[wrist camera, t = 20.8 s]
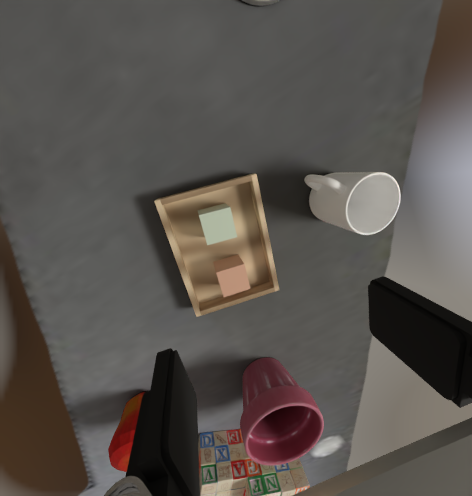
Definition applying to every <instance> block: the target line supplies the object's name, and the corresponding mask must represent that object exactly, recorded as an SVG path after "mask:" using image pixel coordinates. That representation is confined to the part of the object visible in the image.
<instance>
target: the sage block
mask: <svg viewBox="0 0 472 496" xmlns="http://www.w3.org/2000/svg"><path fill="white" fill-rule="evenodd" d="M198 214H199V218H200V221H201V225H202V228H203V232H204V235H205V239H206V242H207V245H211V244H214V243H218V242H221V241H225V240H229V239H232V238H236V237H237V234H236V229H235V225H234V221H233V216H232V212H231V208H230V206H228V205H227V204H226V203H224V204H220V205H216V206H212V207H209V208H205V209H201V210H198Z"/></svg>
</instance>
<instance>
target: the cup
mask: <svg viewBox="0 0 472 496" xmlns="http://www.w3.org/2000/svg"><path fill="white" fill-rule="evenodd" d="M304 181H305V183H306V184H307V185H308V186H309V187H311V188H312V190H311V192H310V197H309V205H310V208H311V211H312V213H313V214H314V215H315V216H316V217H317V218H318V219H320V220H322V221H324V222H327V223H330V224H333V225H336V226H339V227H341V228H344V229H347V230H350V231H353V232H356V233H358V234H362V235H371V234H374V233H377V232H379V231H381V230H382V229H384V228H385V227H386V226H387V225H388V224H389V223H390V222H391V221H392V220H393V218H394V217H395V215H396V213H397V211H398V208H399V204H400V189H399V186H398V183H397V182H396V180H395V179H394V178H393V177H392V176H390V175H389V174H387V173H383V172H341V173H330V174H327V175H325V176H322V175H313V174H312V175H307V176H306V177H305V179H304Z"/></svg>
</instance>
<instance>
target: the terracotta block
mask: <svg viewBox="0 0 472 496" xmlns="http://www.w3.org/2000/svg"><path fill="white" fill-rule="evenodd" d="M213 263H214V267H215V271H216V274H217V277H218V281H219V284H220V287H221V290H222V294H223V297H227V296H230V295H233V294H236V293H239V292H242V291H245V290H248V289H251V288H250V284H249V280H248V276H247V272H246V268H245V265H244V263H243V261H242V259H241V258H240V256H239V254H237V255H234V256H231V257H227V258H224V259H221V260H218V261H214V262H213Z"/></svg>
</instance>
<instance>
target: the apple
mask: <svg viewBox="0 0 472 496" xmlns="http://www.w3.org/2000/svg"><path fill="white" fill-rule="evenodd" d="M144 393H145V392H142V393H139V394H138V395H136V396H135V397H133V398H132V399H131V400H129V401H128V402H127V403H126V406H125V408H124V411H123V414H122V417H121V421H120V423H119V425H118V427H117V429H116V431H115V434H114V436H113V438H112V441H111V443H110V446H109V449H108V450H109V458H110V462H111V465H112V466H113V467H114V468H116V469H117V470H121V471H124V472H127V467H128V463H129V458H130V453H131V448H132V443H133V439H134V434H135V429H136V424H137V419H138V415H139V410H140V405H141V400H142V397H143V394H144Z"/></svg>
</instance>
